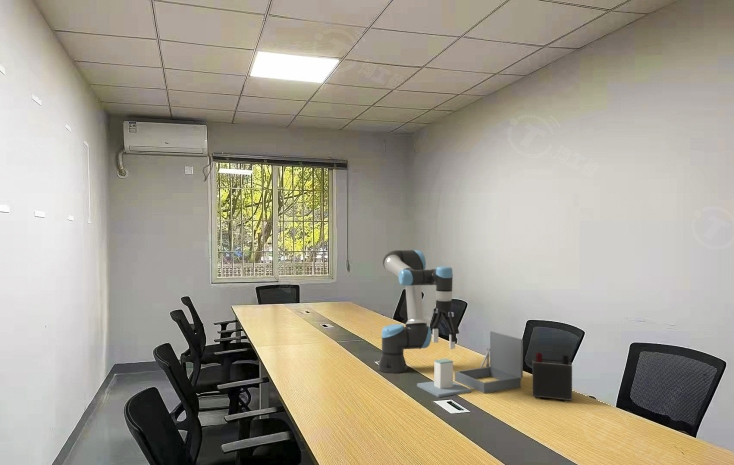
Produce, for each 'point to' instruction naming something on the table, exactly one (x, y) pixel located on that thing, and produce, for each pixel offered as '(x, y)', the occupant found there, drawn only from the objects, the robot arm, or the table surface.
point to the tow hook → (487, 360)
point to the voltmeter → (552, 378)
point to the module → (443, 373)
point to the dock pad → (445, 391)
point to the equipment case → (497, 366)
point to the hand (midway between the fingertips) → (443, 345)
